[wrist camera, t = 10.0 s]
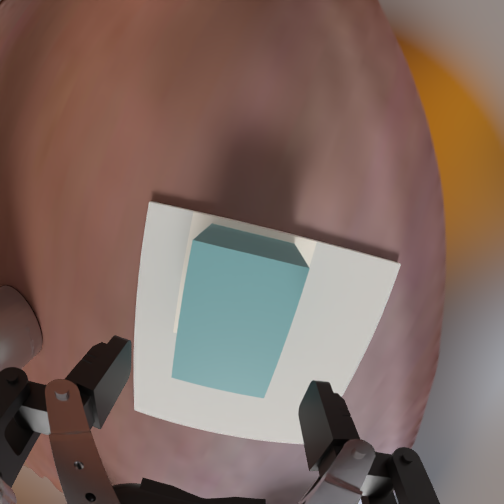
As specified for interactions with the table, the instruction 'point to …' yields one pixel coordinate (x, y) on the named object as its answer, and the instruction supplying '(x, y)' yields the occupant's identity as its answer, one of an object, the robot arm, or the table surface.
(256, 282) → the card box
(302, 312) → the mat
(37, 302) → the table surface
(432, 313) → the table surface
